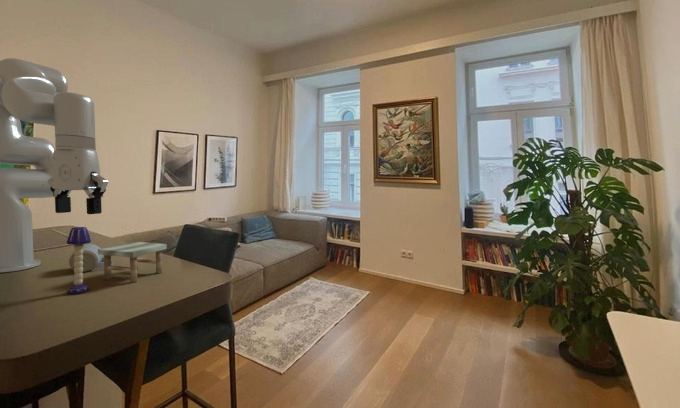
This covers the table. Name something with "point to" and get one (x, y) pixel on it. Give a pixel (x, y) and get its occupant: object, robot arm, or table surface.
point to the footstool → (132, 257)
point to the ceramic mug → (89, 258)
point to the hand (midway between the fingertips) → (78, 213)
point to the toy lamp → (78, 258)
